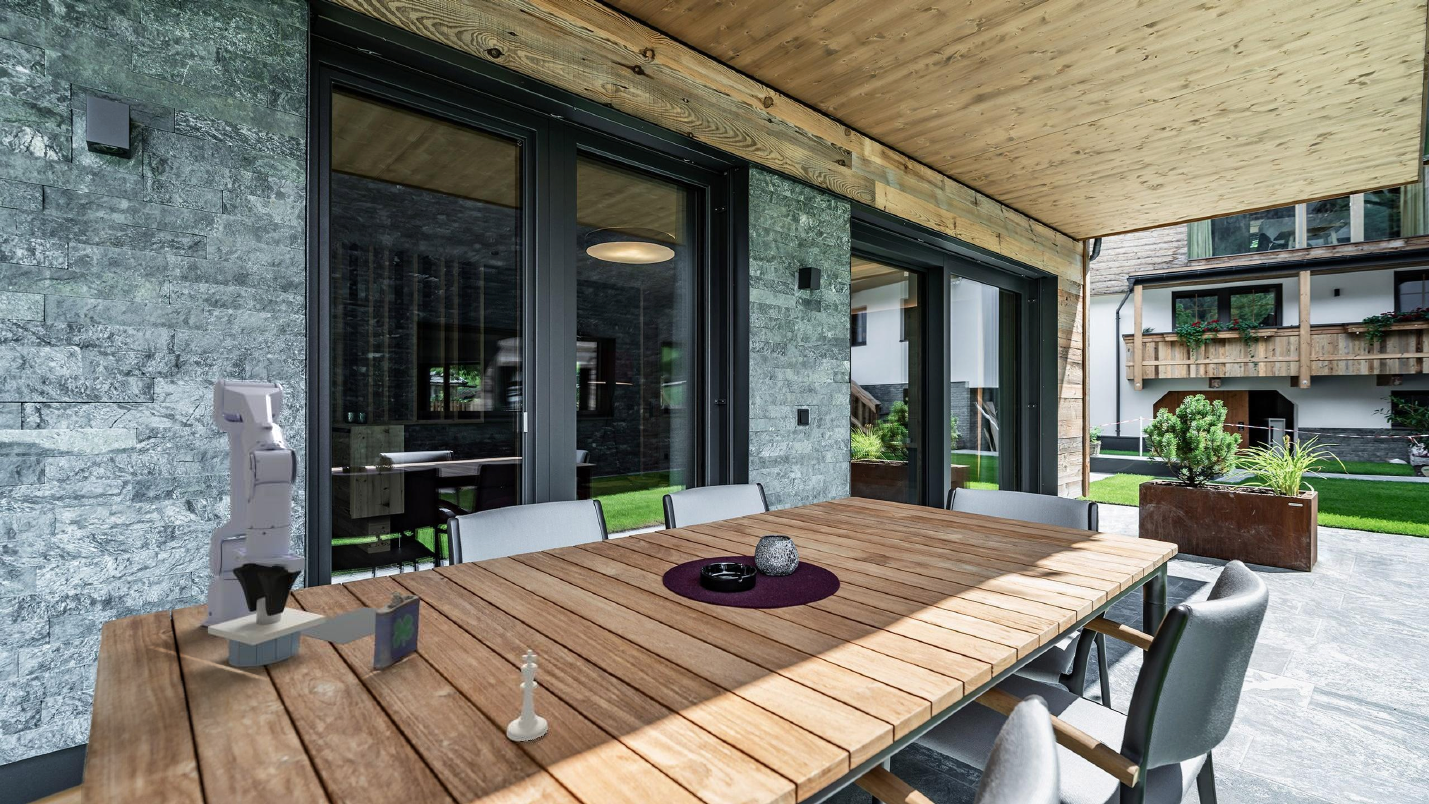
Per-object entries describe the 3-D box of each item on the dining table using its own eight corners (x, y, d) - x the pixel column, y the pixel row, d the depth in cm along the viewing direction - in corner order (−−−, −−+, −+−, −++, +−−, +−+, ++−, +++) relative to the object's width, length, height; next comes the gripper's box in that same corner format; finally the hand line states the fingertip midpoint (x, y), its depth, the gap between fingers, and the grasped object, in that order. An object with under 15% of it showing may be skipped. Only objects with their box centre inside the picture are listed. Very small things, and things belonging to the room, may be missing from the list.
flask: (384, 672, 93) (386, 600, 93) (366, 670, 93) (368, 599, 93) (422, 649, 102) (423, 584, 102) (405, 648, 102) (407, 583, 103)
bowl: (214, 662, 95) (216, 633, 95) (275, 642, 103) (276, 615, 103) (252, 673, 91) (253, 642, 92) (312, 651, 100) (312, 623, 100)
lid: (207, 633, 95) (208, 603, 95) (281, 612, 105) (282, 585, 105) (253, 645, 91) (254, 614, 91) (325, 622, 101) (326, 594, 101)
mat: (286, 633, 107) (286, 631, 107) (364, 608, 121) (364, 606, 121) (342, 646, 102) (343, 644, 102) (417, 619, 116) (417, 617, 116)
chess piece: (512, 721, 79) (514, 643, 79) (551, 721, 80) (553, 643, 80) (502, 742, 74) (504, 658, 74) (543, 741, 75) (546, 658, 75)
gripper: (212, 525, 97) (209, 612, 96) (272, 534, 91) (269, 626, 91) (259, 518, 103) (257, 600, 103) (319, 526, 98) (316, 612, 98)
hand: (266, 611), depth 97 cm, fingers open, 4 cm apart
